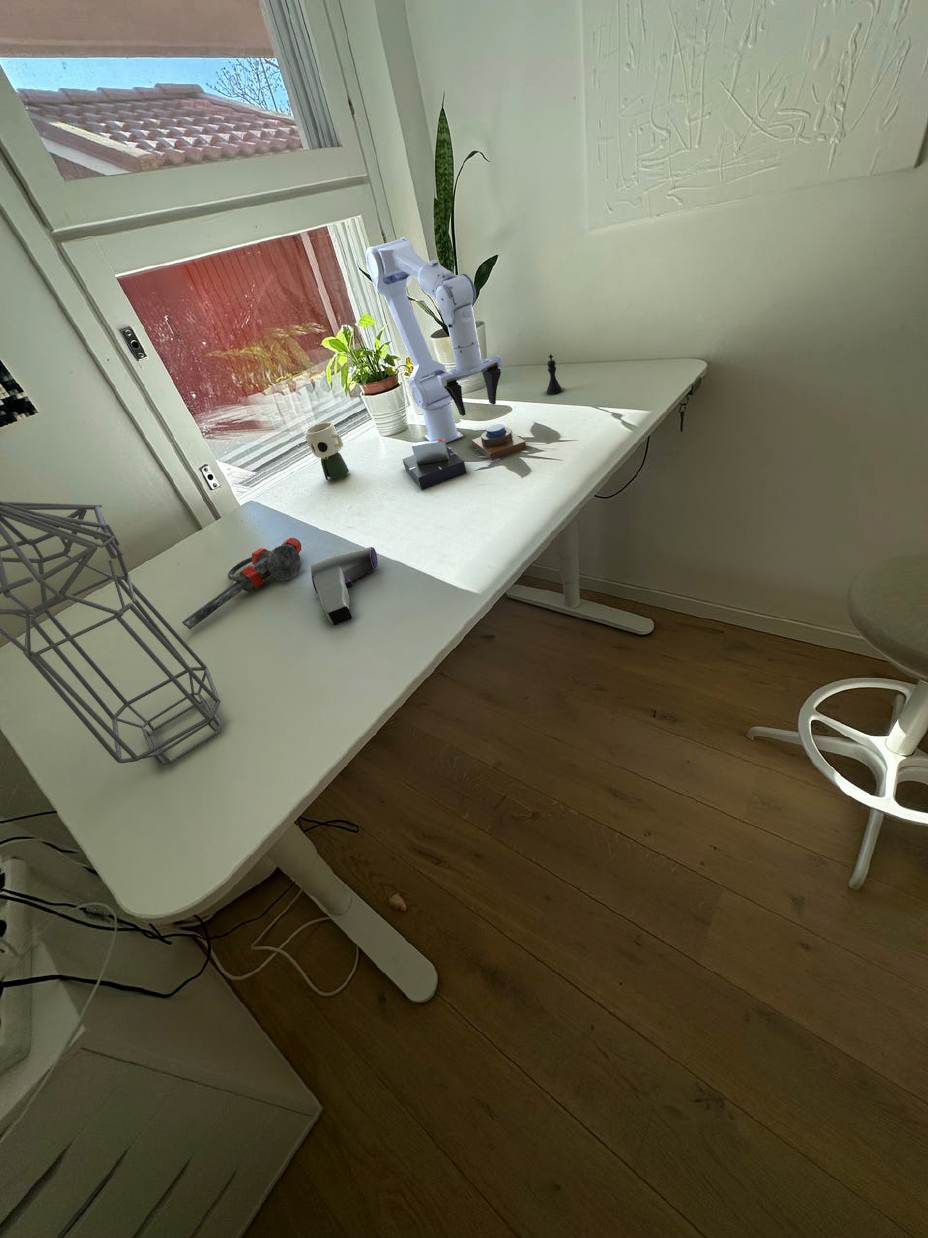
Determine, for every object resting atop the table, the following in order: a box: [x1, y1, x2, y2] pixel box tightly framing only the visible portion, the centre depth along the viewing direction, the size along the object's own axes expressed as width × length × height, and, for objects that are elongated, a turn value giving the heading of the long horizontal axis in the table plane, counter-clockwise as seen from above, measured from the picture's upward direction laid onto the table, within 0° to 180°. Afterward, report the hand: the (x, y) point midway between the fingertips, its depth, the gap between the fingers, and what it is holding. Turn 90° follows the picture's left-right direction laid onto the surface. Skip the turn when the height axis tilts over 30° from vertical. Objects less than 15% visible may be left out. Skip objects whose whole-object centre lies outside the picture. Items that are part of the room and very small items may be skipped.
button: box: [485, 423, 506, 438], centre depth 123 cm, size 4×4×2 cm
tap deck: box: [402, 446, 468, 491], centre depth 121 cm, size 14×12×3 cm
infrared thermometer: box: [310, 546, 379, 626], centre depth 88 cm, size 5×12×15 cm
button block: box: [471, 426, 527, 462], centre depth 124 cm, size 12×9×4 cm
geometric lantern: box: [0, 501, 223, 767], centre depth 61 cm, size 16×16×35 cm
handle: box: [411, 438, 449, 465], centre depth 118 cm, size 8×2×5 cm, turn 81°
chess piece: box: [546, 354, 563, 395], centre depth 145 cm, size 4×4×10 cm
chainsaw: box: [181, 537, 303, 630], centre depth 98 cm, size 6×26×15 cm
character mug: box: [304, 421, 350, 482], centre depth 129 cm, size 11×7×13 cm, turn 64°
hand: (477, 408), depth 118 cm, fingers open, 7 cm apart
